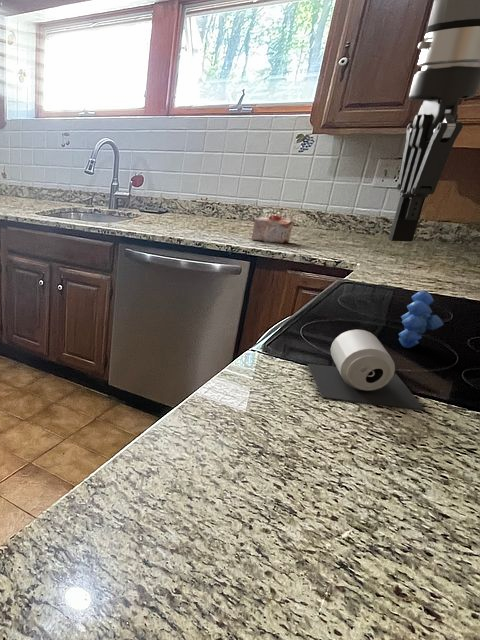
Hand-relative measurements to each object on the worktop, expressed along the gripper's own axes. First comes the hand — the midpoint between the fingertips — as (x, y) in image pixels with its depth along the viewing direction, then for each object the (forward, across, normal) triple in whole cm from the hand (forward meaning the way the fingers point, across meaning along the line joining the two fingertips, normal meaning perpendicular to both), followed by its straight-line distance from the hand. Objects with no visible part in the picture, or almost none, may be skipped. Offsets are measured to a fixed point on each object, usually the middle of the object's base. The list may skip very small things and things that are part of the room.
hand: (400, 240), depth 81 cm
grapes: (+25, -20, +14) cm, 34 cm away
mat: (+24, +2, 0) cm, 25 cm away
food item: (+25, -130, 0) cm, 132 cm away
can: (+20, -6, 0) cm, 21 cm away
